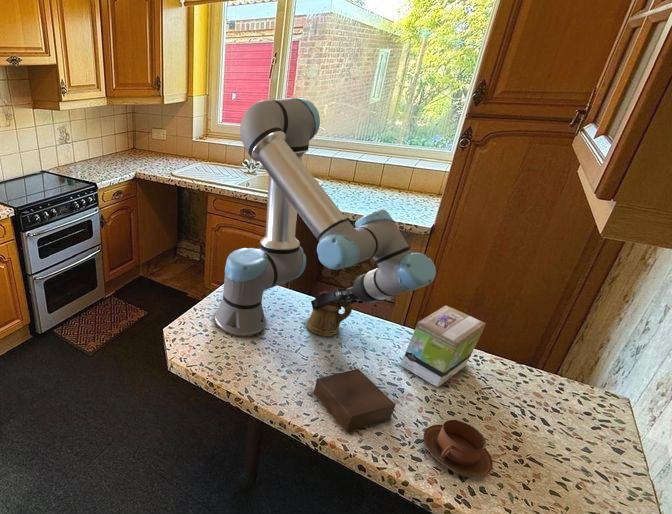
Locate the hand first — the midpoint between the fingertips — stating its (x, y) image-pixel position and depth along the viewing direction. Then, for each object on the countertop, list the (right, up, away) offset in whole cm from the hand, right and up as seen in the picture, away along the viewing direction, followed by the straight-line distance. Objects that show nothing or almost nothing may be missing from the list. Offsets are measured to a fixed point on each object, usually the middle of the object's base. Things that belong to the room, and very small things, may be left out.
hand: (327, 303), depth 120 cm
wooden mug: (+1, -8, +1) cm, 9 cm away
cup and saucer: (+11, -28, -36) cm, 47 cm away
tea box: (+23, -16, -13) cm, 31 cm away
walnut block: (-5, -22, -25) cm, 33 cm away
